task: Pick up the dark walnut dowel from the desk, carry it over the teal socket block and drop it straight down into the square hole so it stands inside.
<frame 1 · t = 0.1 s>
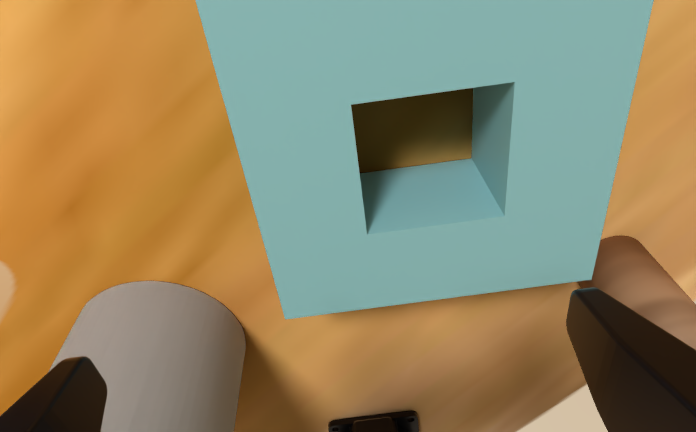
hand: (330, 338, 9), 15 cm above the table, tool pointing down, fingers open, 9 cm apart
walnut dowel: (608, 263, 28), on the table
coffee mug: (154, 354, 31), on the table
socket block: (411, 112, 22), on the table
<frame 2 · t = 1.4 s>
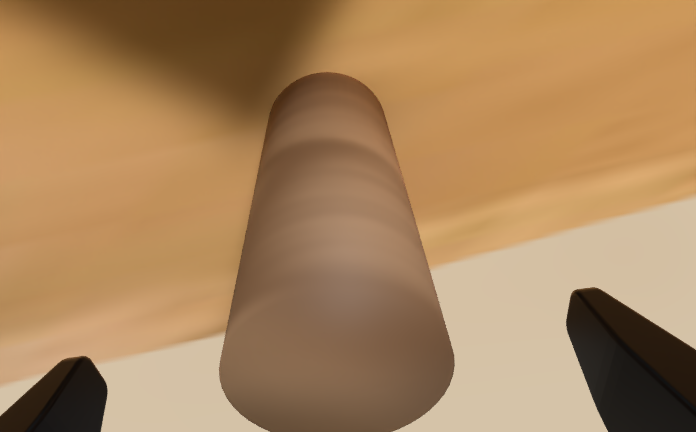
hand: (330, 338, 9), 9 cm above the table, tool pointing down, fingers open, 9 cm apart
walnut dowel: (327, 130, 17), on the table
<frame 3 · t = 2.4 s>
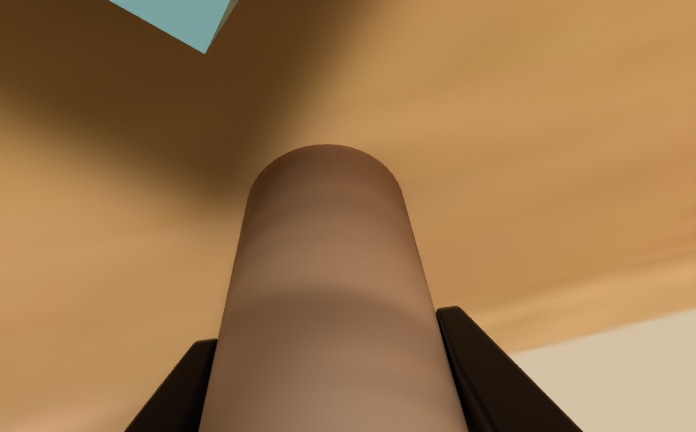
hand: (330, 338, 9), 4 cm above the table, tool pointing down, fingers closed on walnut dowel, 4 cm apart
walnut dowel: (326, 215, 12), on the table, touching gripper
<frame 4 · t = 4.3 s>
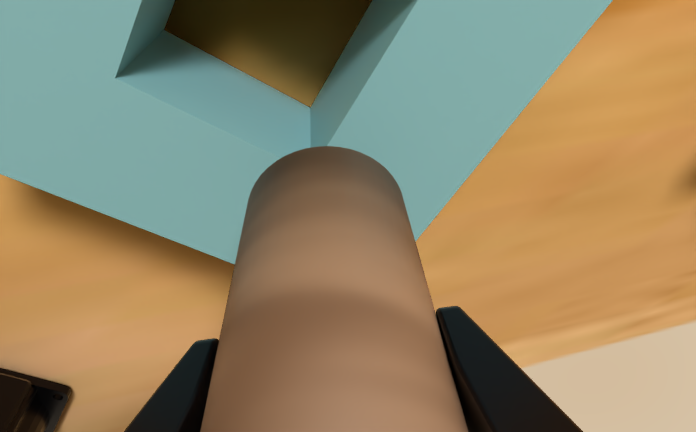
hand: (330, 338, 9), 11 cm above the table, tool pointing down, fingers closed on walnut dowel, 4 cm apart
walnut dowel: (326, 217, 12), point 7 cm above the table, touching gripper
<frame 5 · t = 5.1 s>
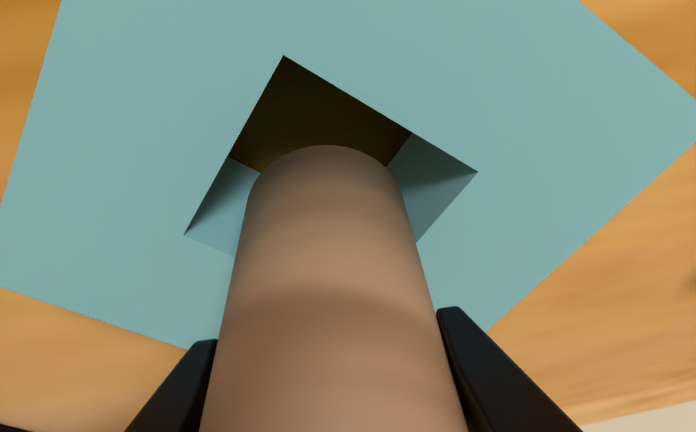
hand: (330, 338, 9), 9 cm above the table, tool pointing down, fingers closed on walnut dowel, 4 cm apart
walnut dowel: (326, 216, 12), point 5 cm above the table, touching gripper
socket block: (324, 125, 17), on the table
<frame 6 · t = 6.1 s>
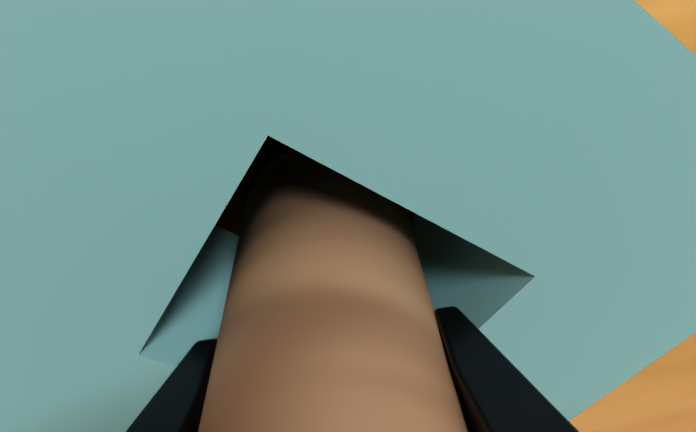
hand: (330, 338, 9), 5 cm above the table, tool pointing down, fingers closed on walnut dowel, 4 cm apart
walnut dowel: (325, 215, 12), point 1 cm above the table, touching gripper
socket block: (325, 184, 14), on the table
when the fingers open (5 cm above the table, at t = 6.2 s): walnut dowel drops 1 cm, resting in socket block.
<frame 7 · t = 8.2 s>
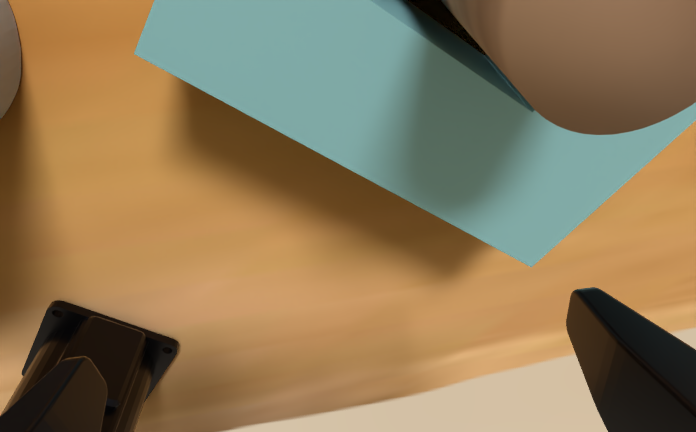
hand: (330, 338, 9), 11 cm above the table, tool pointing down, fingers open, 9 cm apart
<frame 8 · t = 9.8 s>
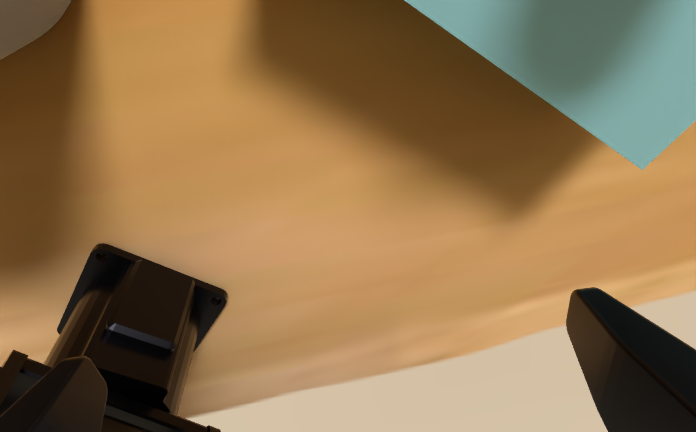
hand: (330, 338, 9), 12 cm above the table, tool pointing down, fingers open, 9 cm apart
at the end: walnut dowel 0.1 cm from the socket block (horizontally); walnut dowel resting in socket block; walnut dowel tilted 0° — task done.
